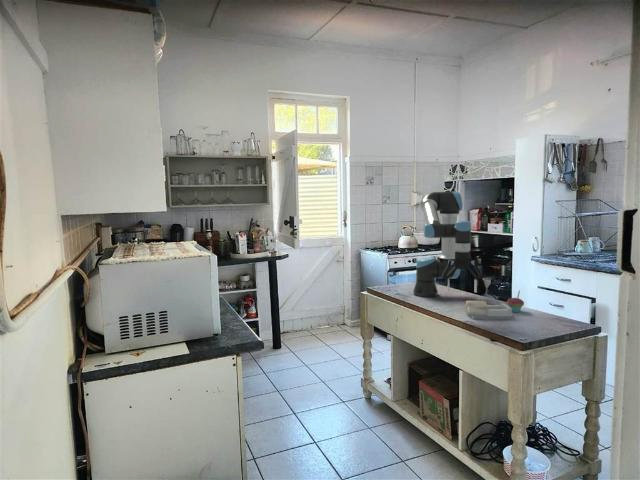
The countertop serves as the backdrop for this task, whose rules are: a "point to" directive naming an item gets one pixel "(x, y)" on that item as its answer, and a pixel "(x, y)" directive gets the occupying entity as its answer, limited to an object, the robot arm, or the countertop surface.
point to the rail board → (495, 312)
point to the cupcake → (515, 303)
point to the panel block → (476, 307)
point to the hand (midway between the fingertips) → (461, 291)
